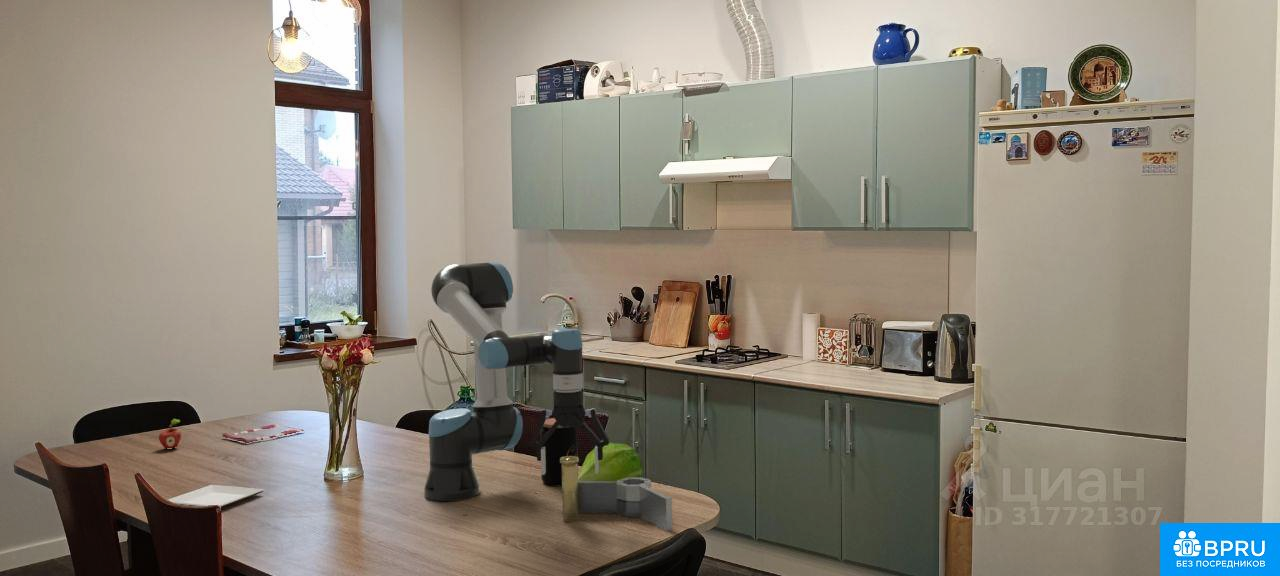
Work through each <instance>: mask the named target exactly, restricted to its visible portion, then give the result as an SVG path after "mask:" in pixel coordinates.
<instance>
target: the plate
mask: <svg viewBox="0 0 1280 576" xmlns="http://www.w3.org/2000/svg"><path fill="white" fill-rule="evenodd" d="M264 491H265V489H263V488H254V487H253V488H252V487H241V486H231V485H219V484H209V485H207V486H203V487H201V488H198V489H195V490H192V491H189V492H187V493H183V494H180V495H178V496H175V497H170V498H169V499H168V498H167V500H169V501H171V502H173V503H176V504H180V505H189V506H208V505H219V506H221V509H223V508H226V507H228V506H231V505H234V504H237V503H240V502H242V501H244V500H247V499H249V498H252V497H255V496H257V495H259V494H261V493H264Z"/></svg>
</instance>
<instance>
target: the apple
mask: <svg viewBox="0 0 1280 576" xmlns="http://www.w3.org/2000/svg"><path fill="white" fill-rule="evenodd" d="M180 422H181V420H180V419H176V418H173V419H172V420H171V421H170V425H169V428H166V429H164V430H162V431H161V432H160V433H159V435H158V441H159V442H160V444H161V446H162V447H163V448H164V449H165V448H175V447H177V448H178V447H179V446H178V445H179V443H180V441H181V439H182V434H181V430H180V429H177V428H173V427H172V426H174V425H177V424H179V423H180ZM175 449H176V448H175Z"/></svg>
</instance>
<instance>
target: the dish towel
mask: <svg viewBox="0 0 1280 576" xmlns="http://www.w3.org/2000/svg"><path fill="white" fill-rule="evenodd" d="M274 427H286V428H288V429H290V430H289V431H284V432H281V434H277V435H272V436H264V437H258V438H244V437H239V438H238V437H235V436H233V435H237V434H242V433H249V432H254V431H258V430H263V429H270V428H274ZM291 429H292V430H291ZM300 431H304V429H300V428H295V427H290V426H289V427H288V426H284V425H281V424H270V425H266V426H264V425H263V426H262V427H258V428H253V429H252V428H251V429H247V430H242V431H241V432H234V433H228V432H224V433H223V432H222V438H223V437H225V438H230V439H233V440H237V441H243V442H245V443H249V442H253V441H258V440H263V439H267V438H273V437H278V436H282V435H287V434H292V433H296V432H300ZM304 432H305V431H304Z"/></svg>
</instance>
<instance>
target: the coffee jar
mask: <svg viewBox="0 0 1280 576" xmlns="http://www.w3.org/2000/svg"><path fill="white" fill-rule="evenodd" d="M555 422H556V420H555V418H554V417H553V418H550V417H549V418H547V419H546V421H545V423H544V425H543V427H542V429H541V431H540V440H541V439H542V438H543V436H544V435H545V434H546V433H547V432H548V430H549V429H550V428H551V427H552V425H553V424H554V423H555ZM542 447H545V459H546V473H545V475H542V472H540V473H541V480H542V481H543V483H544V485H546V484H548V485H547V486H551V485H556V486H555V487H558V486H557V485H562V464H561V463H560V458H561V457H565V456H576V457H578V428H577V426H575V427H569V426H568V427H562V426H560V425H559V426H558V427H557V428H556V430H555V431H554V432H553V433H552V435H551V436H550V437H549V438H548V439H547V441H546V442H545V443H544V444H543V446H542ZM577 469H578V470H579V466H578V463H577Z"/></svg>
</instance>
